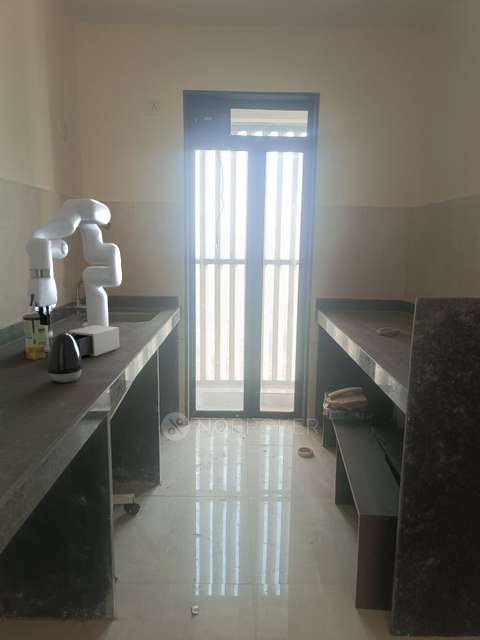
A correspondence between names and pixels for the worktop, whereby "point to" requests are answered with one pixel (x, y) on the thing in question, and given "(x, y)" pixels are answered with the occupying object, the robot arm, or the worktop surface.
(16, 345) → the worktop surface
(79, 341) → the dark grey storage bin
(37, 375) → the worktop surface
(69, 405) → the worktop surface
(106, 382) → the worktop surface
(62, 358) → the dark grey rounded dome
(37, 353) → the cube
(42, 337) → the coffee can
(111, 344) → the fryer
